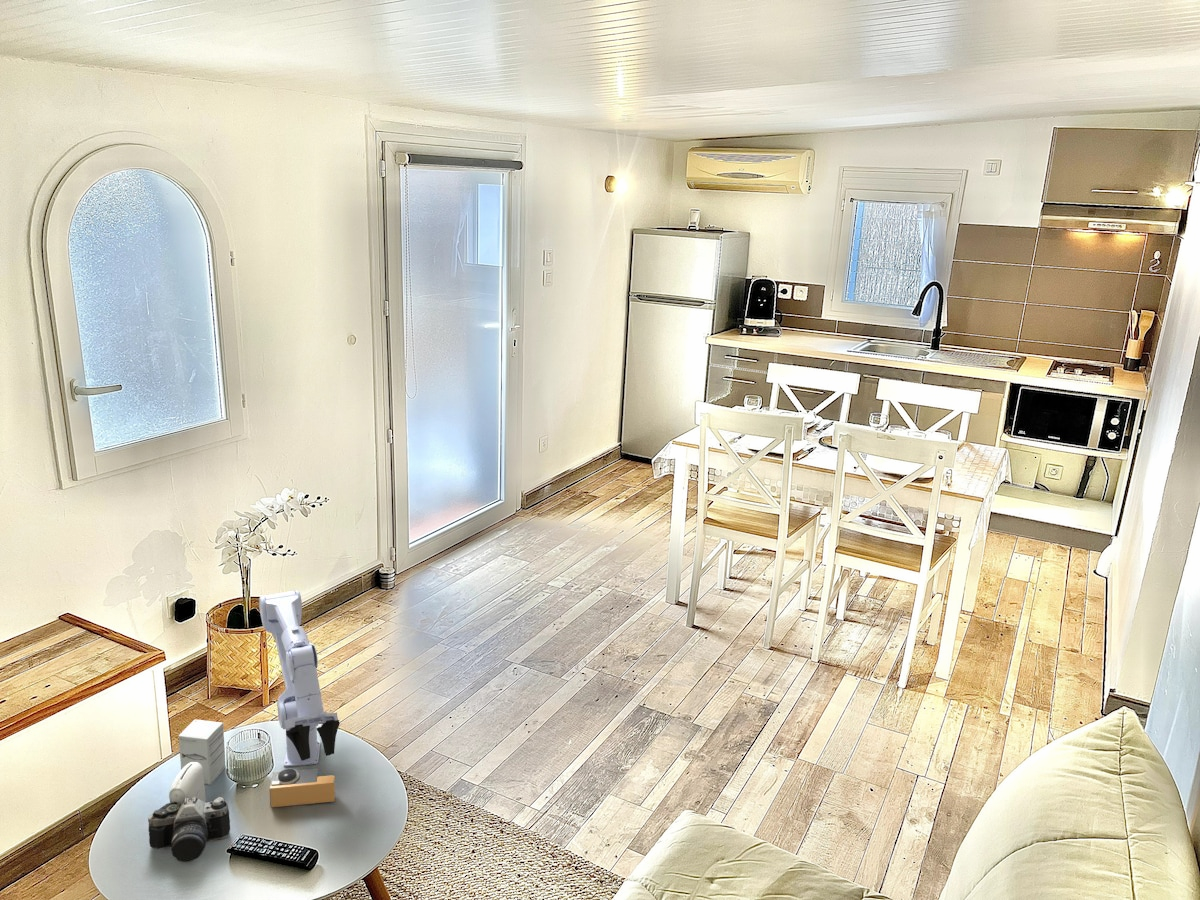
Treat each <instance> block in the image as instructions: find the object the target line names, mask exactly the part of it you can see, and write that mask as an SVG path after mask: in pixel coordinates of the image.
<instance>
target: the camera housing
mask: <svg viewBox="0 0 1200 900" xmlns="http://www.w3.org/2000/svg"><path fill="white" fill-rule="evenodd" d="M317 777H319V770H318V768H308V769H300V770H299V769H297V770H295V769H294V768H293V769H292V768H285V769H282V770H280V771H275V772H273V771H272V775H271V781H270V785H269V787H270V786H279V785H290V784H301V783H312V782H317ZM269 791H270V788H269ZM269 801H270V802H269V803H270V805H269V806H270V807H271V797H270V796H269Z"/></svg>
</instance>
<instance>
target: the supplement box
mask: <svg viewBox="0 0 1200 900" xmlns="http://www.w3.org/2000/svg"><path fill="white" fill-rule="evenodd" d="M224 735H225V734H224V722H220V721H213V720H202V719H196V718H194V720H193V721H192V722H190V723H189V725H187V726H186V728H184V729H183V730H182V732H180V733H179V735H178V745H179V760H180V771H181V770H182V769H183V768H184V767H185V766H186V765H187V764H188V763H190V762H198V763H199V764H201V766H202V768H203V775H204V785H209V786H210V785H212V784H213V782H214V781H216V780H217V778H218V777H219V775H221V774H222V772H223V771H224V770H225V768H226V752H225V751H226V750H225V749H226V748H225V736H224Z"/></svg>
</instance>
